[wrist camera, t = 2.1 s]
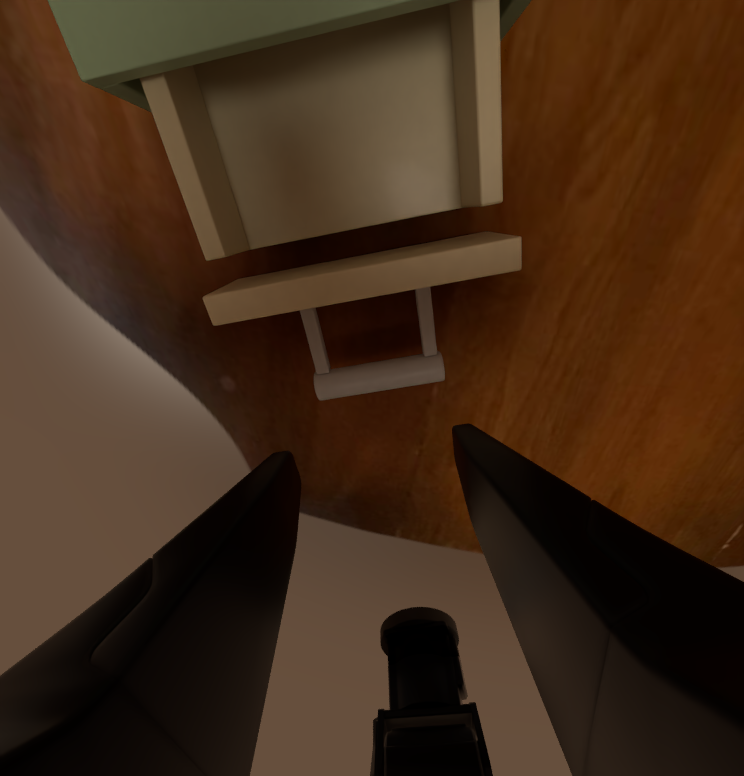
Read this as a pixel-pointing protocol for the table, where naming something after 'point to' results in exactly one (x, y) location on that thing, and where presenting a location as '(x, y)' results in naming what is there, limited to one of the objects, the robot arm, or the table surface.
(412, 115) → the drawer
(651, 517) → the table surface
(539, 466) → the robot arm
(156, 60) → the cabinet
